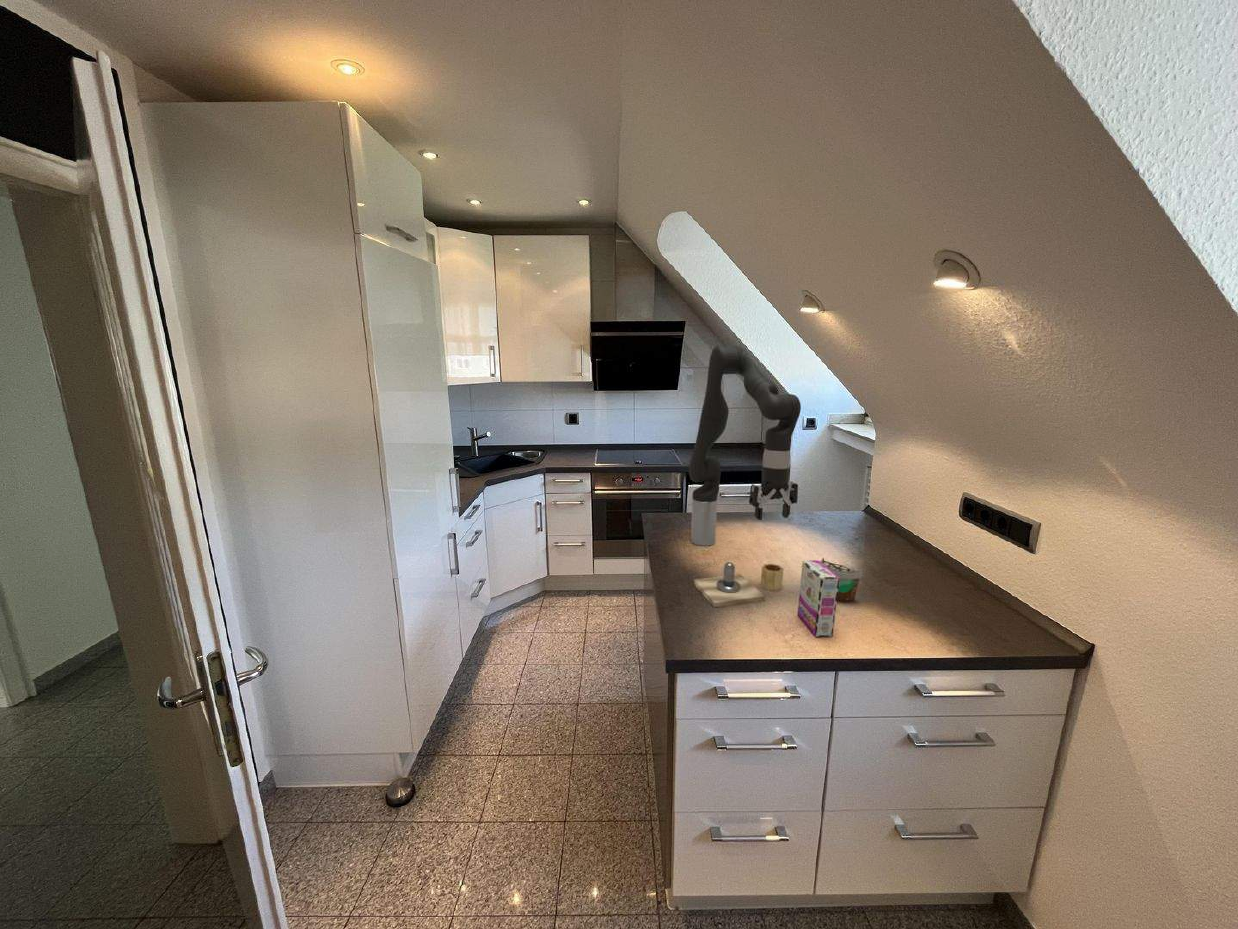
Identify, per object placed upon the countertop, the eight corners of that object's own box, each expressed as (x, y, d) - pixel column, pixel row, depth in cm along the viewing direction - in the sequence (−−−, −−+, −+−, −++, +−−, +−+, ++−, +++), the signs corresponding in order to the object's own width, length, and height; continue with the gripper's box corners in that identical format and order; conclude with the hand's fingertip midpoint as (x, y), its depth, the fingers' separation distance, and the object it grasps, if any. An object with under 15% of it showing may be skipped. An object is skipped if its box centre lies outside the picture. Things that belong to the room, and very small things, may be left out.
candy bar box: (834, 637, 123) (840, 577, 120) (815, 638, 123) (821, 578, 119) (814, 614, 134) (819, 559, 131) (796, 615, 134) (801, 559, 130)
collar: (757, 582, 153) (759, 565, 151) (774, 580, 154) (776, 563, 153) (767, 591, 147) (769, 573, 146) (785, 589, 148) (786, 571, 147)
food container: (808, 593, 146) (811, 562, 144) (819, 587, 150) (822, 556, 148) (849, 609, 137) (853, 576, 135) (859, 602, 141) (863, 570, 139)
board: (693, 583, 152) (694, 579, 151) (740, 578, 156) (740, 574, 155) (714, 607, 138) (714, 602, 137) (764, 601, 141) (765, 596, 141)
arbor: (712, 583, 149) (713, 559, 147) (733, 581, 150) (734, 556, 149) (722, 594, 142) (724, 568, 140) (744, 591, 144) (746, 566, 142)
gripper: (791, 460, 143) (786, 512, 147) (747, 462, 140) (743, 515, 144) (806, 466, 136) (800, 520, 140) (760, 468, 133) (756, 524, 137)
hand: (771, 518), depth 142 cm, fingers open, 8 cm apart
